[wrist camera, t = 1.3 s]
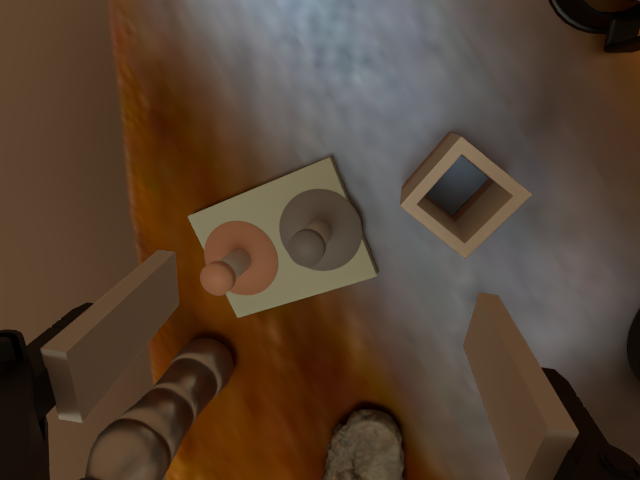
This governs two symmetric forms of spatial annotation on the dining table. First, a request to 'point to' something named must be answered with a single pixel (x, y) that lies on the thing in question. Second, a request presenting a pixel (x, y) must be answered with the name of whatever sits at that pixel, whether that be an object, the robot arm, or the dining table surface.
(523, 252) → the dining table surface
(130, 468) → the plastic bottle
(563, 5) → the french press
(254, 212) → the board with round knobs
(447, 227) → the sleeve
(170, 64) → the dining table surface
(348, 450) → the elongated rock
